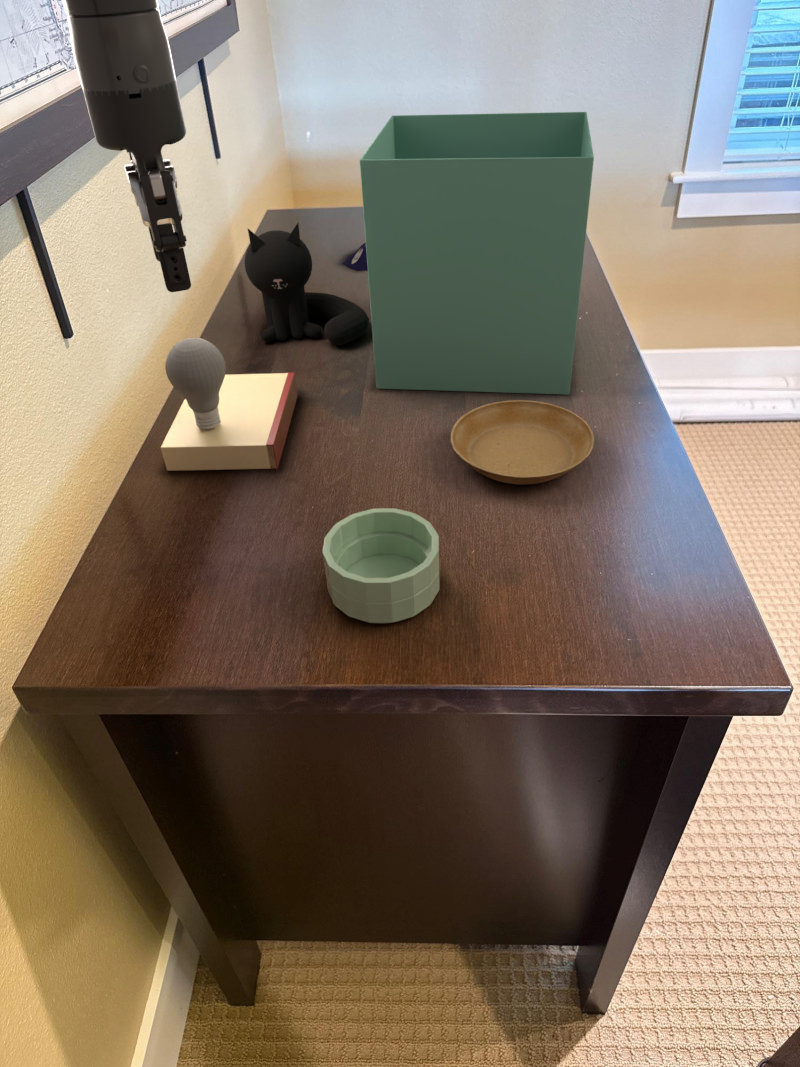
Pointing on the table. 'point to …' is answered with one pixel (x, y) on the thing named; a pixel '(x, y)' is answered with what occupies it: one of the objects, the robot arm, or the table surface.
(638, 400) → the table surface
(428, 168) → the box
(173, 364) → the light bulb
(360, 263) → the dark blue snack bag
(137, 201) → the robot arm
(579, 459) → the plant saucer
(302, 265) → the figurine
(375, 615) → the bowl
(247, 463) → the book
